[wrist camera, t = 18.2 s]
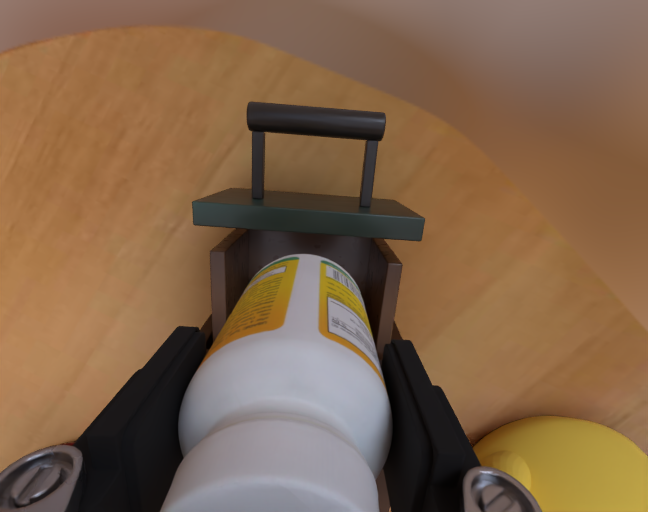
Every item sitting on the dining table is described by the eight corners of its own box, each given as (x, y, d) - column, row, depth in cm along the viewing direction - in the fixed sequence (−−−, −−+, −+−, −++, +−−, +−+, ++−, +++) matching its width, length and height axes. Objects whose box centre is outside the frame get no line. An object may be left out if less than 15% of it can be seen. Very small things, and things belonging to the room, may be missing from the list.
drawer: (229, 109, 20) (185, 87, 14) (405, 124, 21) (444, 109, 14) (232, 356, 26) (202, 423, 19) (371, 364, 26) (388, 433, 20)
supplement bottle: (372, 260, 14) (476, 469, 5) (350, 364, 15) (393, 674, 6) (248, 242, 13) (92, 426, 4) (238, 349, 15) (109, 651, 6)
